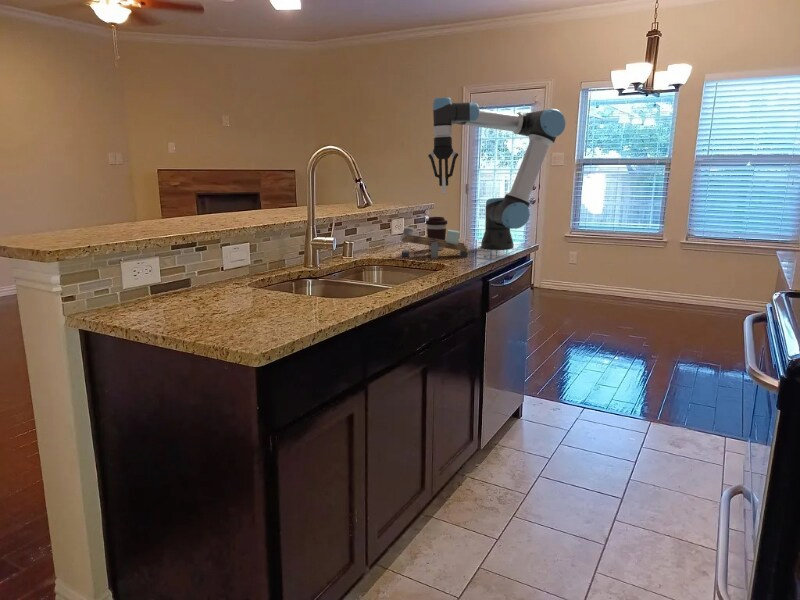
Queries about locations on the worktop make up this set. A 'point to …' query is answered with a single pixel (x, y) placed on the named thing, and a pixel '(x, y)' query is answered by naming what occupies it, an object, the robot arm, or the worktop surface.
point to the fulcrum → (433, 251)
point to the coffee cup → (436, 229)
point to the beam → (429, 240)
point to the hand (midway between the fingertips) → (443, 193)
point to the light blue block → (452, 237)
